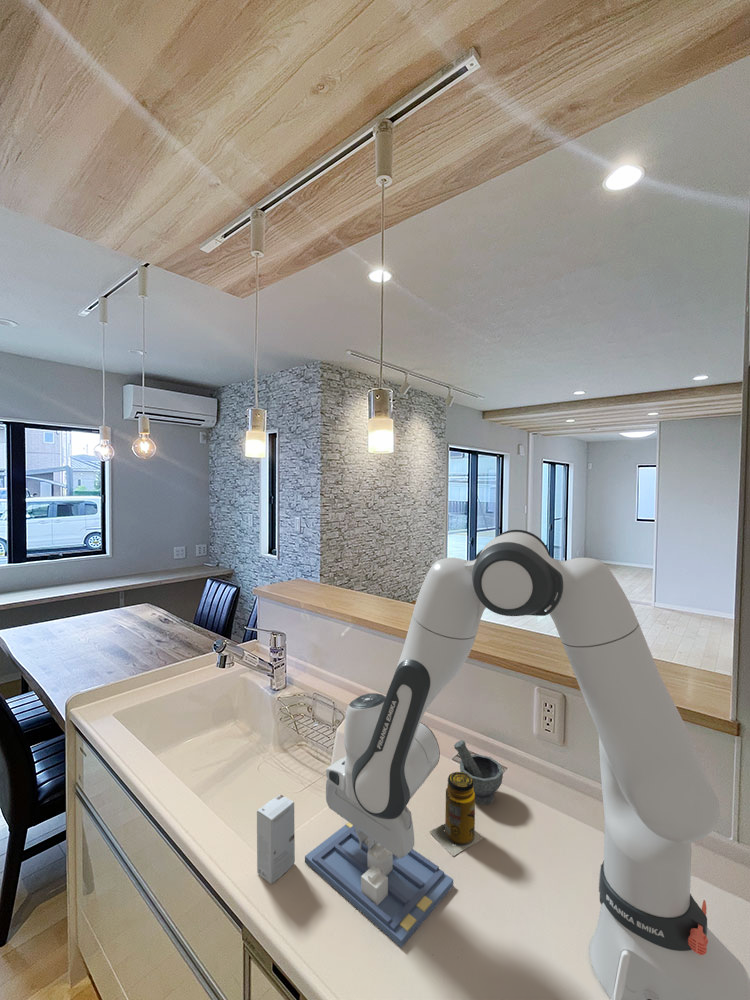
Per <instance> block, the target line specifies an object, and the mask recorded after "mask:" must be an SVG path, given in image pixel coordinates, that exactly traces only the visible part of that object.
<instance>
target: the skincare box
mask: <svg viewBox="0 0 750 1000" xmlns="http://www.w3.org/2000/svg"><path fill="white" fill-rule="evenodd" d="M295 835H296V834H295V802H294V801H293V800H291V799H290V798H288V797H286V796H284V795H282V794H278V795H277V796H276V797H274V798H273V799H270V800H269V801H267V802H266V803H265V804H264V805H263V806H262V807H260V808H258V809H257V810H256V867H257V868H256V870H257V871H256V873H257V874H258V875H259V876H260V877H261V878H262V879H264V880H265V881H266V882H268V883H269V884H270V885H272V884H274V883H275V882H276V881H277V880H279V878H281V877H282V876H283V875H284V874H285V873H286V872H287V871H288V870H290V869H291V868H292V867H293V865H294V864H295V862H296V861H295V860H296V858H295V857H296V856H295V847H296V846H295V845H296V844H295V839H296V838H295Z"/></svg>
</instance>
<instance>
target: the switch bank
mask: <svg viewBox="0 0 750 1000" xmlns="http://www.w3.org/2000/svg"><path fill="white" fill-rule="evenodd" d="M304 862H305V863H306V864H307V865H308V867H310V868H311V869H312V870H313V871H314V872H316V874H318V875H319V876H320V877H321V878H322V879H323V880H324V881H325V882H326V883H328V884H329V885H330V886H331V887H332V888H333V889H334V890H336V891H337V892H338V893H339V894H340V895H341V896H342V897H343V898H345V900H347V901H348V902H349V903H350V904H351V905H352V906H353V907H354V908H356V909H357V910H358V911H359V912H360V913H361V914H363V916H365V917H366V918H367V919H368V920H369V921H370V922H372V923H373V924H374V926H376V927H377V928H378V929H379V930H381V932H383V933H384V934H385V935H386V936H387V937H388V938H390V940H391V941H393V942H394V943H395V944H396V945H397V946H399V947H400V948H403V947H404V946H405V944H406V943H407V942H408V941H409V940H410V938H411V937H413V934H415V932H416V931H417V930H418V928H420V926H421V925H422V924H423V922H425V920H426V919H427V918H428V917H429V916H430V915H431V913H432V912H433V911H434V909H436V907H437V906H438V905H439V903H440V902H441V901H442V900H443V899H444V898H445V897H446V895H448V893H449V891H450V890H452V888H453V886H454V879H453V877H450V876H449V875H448V874H447V873H445V871H444V870H442V869H441V868H440V867H439V866H438V865H437V864H436V863H434V862H432V861H431V860H430V859H428V858H427V857H426V856H424V855H423V854H421V853H419V852H418V851H417V850H415V849H414V848H413V849H412V850H411V851H410V852H409V853H408V854H407V855H406V856H404V857H403V858H398V857H397V856H395V855H394V854H393V870H392V871H391V872H390V873H389V874H388V875H387V877H388V895H387V896H386V897H385V898H384V899H383V900H382V901H381V902H380V903H379V905H378V906H377V905H376V904H375V903H373V902H372V901H371V900H370V899H369V898H367V897H366V896H365V895H364V894H363V893H362V892H361V876H362V875H363V874H364V873H365V872H366V871H367V870H368V869H369V868H368V867H367V853H365V852H364V851H363V850H361V849H360V848H359V839H358V837H357V834H356V831H355V826H354V825H352V824H351V823H349V822H348V821H347V823H345V825H343V826H342V827H341V828H339V829H338V830H337V831H335V832H334V833H333V834H331V835H330V836H329V837H328V838H326V839H325V840H324V841H322V842H321V843H319V844H318V845H317V846H316V847H315V848H313V849H312V850H311V851H309V852H307V854H305V855H304Z"/></svg>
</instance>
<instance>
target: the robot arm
mask: <svg viewBox="0 0 750 1000" xmlns="http://www.w3.org/2000/svg"><path fill="white" fill-rule="evenodd" d="M413 607H414V608H413V611H412V616H411V618H410V621H409V626H408V630H407V634H406V638H405V641H404V643H403V647H402V651H401V654H400V656H399V660H398V662H397V665H396V668H395V672H394V673H393V674H394V675H393V677H392V679H391V682H390V684H389V687H388V689H387V693H386V694H385V695H386V696H385V695H384V694H382V693H381V694H380V693H375V692H370V693H366V694H361V695H360V696H357V697H356V698H355V699H353V700H352V701H351V702H350V703H349V704H348V706H347V708H346V713H345V718H344V719H345V720H344V731H343V732H344V733H343V734H344V736H343V737H344V738H343V740H344V743H343V744H344V749H345V752H346V755H345V756H344V757H342V758H340V759H338V760H336V761H335V762H334V763H332V764H331V765H329V766H328V767H326V771H325V775H326V778H327V779H326V783H325V800H326V804H327V806H328V808H329V809H330V810H331V811H333V812H334V813H336V815H339V816H340V817H341V818H342V819H344V820H345V821H347V823H348V822H349V823H351V824H352V825H354V826H355V831H356V834H357V837H358V839H359V848H360V849H361V850H363V851H364V852H365V853H367V852H368V851H369V850H371V849H372V848H373V847H374V846H375V845H376V844H377V843H379V844H380V845H381V846H383V847H384V848H386V849H387V850H388V851H390V852H391V853H392V854H394V855H395V856H397V857H398V858H403V857H404V856H406V855H407V854H408V853H409V852H410V851H411V850H412V849H414V847H415V831H414V823H413V815H412V811H411V810H410V809H409V807H408V806H407V805H408V804H409V803H410V800H411V799H412V798H413V797H414V795H416V793H417V792H418V790H419V789H420V788H421V787H422V786H423V784H424V783H425V782H426V780H427V779H428V777H429V776H430V775H431V774H432V772H433V771H434V769H435V768H436V767H437V765H438V764H439V761H440V757H441V756H440V755H441V751H440V746H439V743H438V739H437V738H436V735H435V734H434V732H433V731H432V730H431V728H430V727H429V726H427V725H426V724H424V723H423V722H421V721H422V719H423V717H424V715H425V713H426V711H427V709H428V708H429V707H430V705H431V703H432V702H434V700H435V698H437V697H438V695H439V694H440V693H441V692H442V691H443V689H444V688H446V686H447V685H448V684H449V683H451V681H452V680H453V679H454V678H455V677H456V676H457V674H459V672H460V671H462V668H463V666H464V665H465V663H466V661H467V659H468V657H469V655H470V653H471V651H472V649H473V646H474V644H475V641H476V637H477V633H478V630H479V626H480V623H481V619H482V617H483V614H484V611H485V610H486V609H487V610H489V611H490V612H493V613H495V614H497V615H500V616H505V617H522V616H523V617H524V616H534V617H535V616H537V617H546V616H548V615H549V616H550V618H551V619H552V621H553V623H554V625H555V628H556V630H557V633H558V635H559V640H561V643H562V646H563V648H564V651H565V654H566V657H567V659H568V661H569V664H570V666H571V669H572V672H573V674H574V677H575V679H576V681H577V684H578V686H579V689H580V692H581V694H582V697H583V699H584V701H585V704H586V706H587V709H588V712H589V715H590V716H591V719H592V722H593V724H594V726H595V730H596V731H597V734H598V748H599V765H600V766H599V767H600V780H601V793H602V803H603V813H604V815H603V818H604V832H603V834H604V836H603V861H602V863H601V864H600V869H599V873H598V875H599V876H598V877H599V878H598V892H599V903H600V908H599V909H600V910H599V915H598V920H597V924H596V927H595V931H594V933H593V936H592V938H591V940H590V943H589V958H590V962H591V966H592V969H593V972H594V974H595V976H596V978H597V980H598V981H599V983H600V984H601V986H602V987H603V989H604V990H605V992H606V993H607V995H608V996H610V997H611V999H612V1000H750V977H749V973H748V972H747V970H746V968H745V967H744V964H742V962H741V961H740V960H739V959H738V958H737V956H735V955H734V954H733V952H731V950H729V948H727V946H725V945H724V943H723V942H722V941H721V940H720V939H719V938H718V937H717V936H716V935H715V934H714V933H713V931H712V930H711V929H710V928H709V927H708V916H707V909H708V908H707V904H706V903H707V902H706V900H705V899H703V902H702V906H701V907H700V906H699V904H698V903H697V902H696V900H695V898H694V897H693V896H692V894H691V878H692V851H693V850H692V843H694V842H696V841H700V840H703V839H704V838H707V837H708V836H709V835H710V834H711V833H712V832H713V831H714V830H715V828H717V825H718V823H719V820H720V816H721V814H720V813H721V808H720V803H719V799H718V796H717V793H716V790H715V788H714V787H715V786H713V782H712V779H711V778H710V775H709V773H708V771H707V769H706V766H705V765H704V763H703V760H702V758H701V756H700V754H699V751H698V750H697V747H696V744H695V742H694V740H693V739H692V736H691V735H690V732H689V730H688V729H687V726H686V724H685V722H684V720H683V718H682V716H681V714H680V712H679V710H678V708H677V706H676V704H675V702H674V700H673V698H672V696H671V694H670V692H669V690H668V688H667V686H666V684H665V682H664V680H663V677H662V676H661V674H660V672H659V669H658V667H657V665H656V664H657V663H656V662H655V659H654V657H653V655H652V652H651V650H650V647H649V645H648V643H647V640H646V638H645V636H644V633H643V630H642V628H641V625H640V623H639V621H638V618H637V616H636V614H635V611H634V609H633V607H632V605H631V603H630V601H629V598H628V597H627V595H626V594H625V592H624V590H623V587H622V586H621V585H620V583H619V581H618V579H616V577H615V575H614V574H613V572H612V571H611V569H610V568H609V566H607V565H606V564H605V563H604V562H602V561H600V560H598V559H596V558H592V557H574V558H571V559H567V560H559V559H555V558H554V557H551V553H550V551H549V549H548V546H547V545H546V543H545V542H544V541H543V540H542V539H541V538H540V537H539V536H537V535H535V534H534V533H532V532H531V531H527V530H524V529H523V530H522V529H510V530H507V531H504V532H502V533H500V534H497V536H495V537H494V538H492V539H491V540H489V541H488V542H487V543H486V545H485V546H484V547H483V548H482V549H481V550H480V551H479V552H478V553H477V554H476V555H475V559H473V560H467V559H464V558H463V559H462V558H459V557H444V558H440V559H438V560H436V561H435V562H434V563H432V565H431V567H430V568H429V570H428V571H427V574H426V576H425V578H424V580H423V583H422V585H421V588H420V590H419V592H418V595H417V597H416V601H415V604H414V606H413ZM610 997H609V998H610ZM611 999H610V1000H611Z"/></svg>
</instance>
